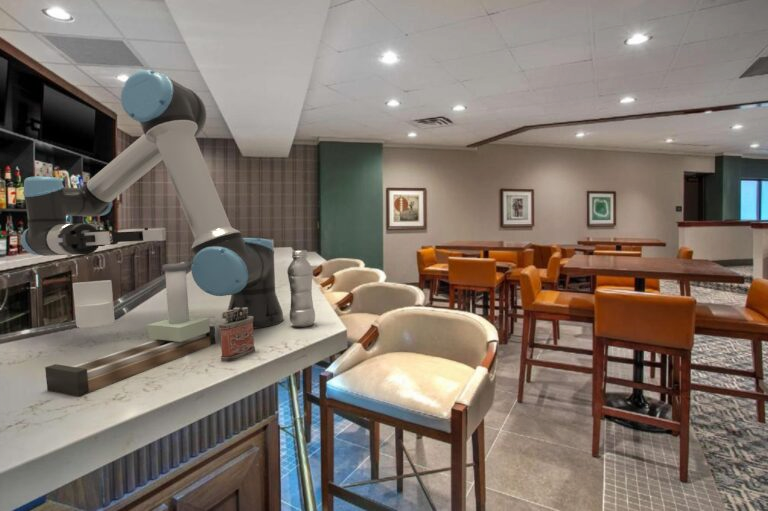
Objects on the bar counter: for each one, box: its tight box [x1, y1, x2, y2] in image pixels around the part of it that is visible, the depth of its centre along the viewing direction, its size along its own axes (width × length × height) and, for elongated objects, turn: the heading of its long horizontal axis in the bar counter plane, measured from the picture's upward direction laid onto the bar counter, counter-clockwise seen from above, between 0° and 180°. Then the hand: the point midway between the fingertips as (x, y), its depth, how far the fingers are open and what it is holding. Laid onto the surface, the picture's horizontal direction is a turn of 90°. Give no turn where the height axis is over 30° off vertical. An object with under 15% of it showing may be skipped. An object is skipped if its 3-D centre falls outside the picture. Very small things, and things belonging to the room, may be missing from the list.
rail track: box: [44, 325, 216, 397], centre depth 82 cm, size 30×8×4 cm, turn 159°
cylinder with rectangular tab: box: [72, 279, 116, 329], centre depth 117 cm, size 9×9×12 cm
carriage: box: [147, 262, 210, 342], centre depth 89 cm, size 8×9×16 cm
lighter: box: [218, 307, 256, 363], centre depth 85 cm, size 8×3×10 cm, turn 152°
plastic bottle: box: [286, 249, 316, 328], centre depth 108 cm, size 6×7×20 cm
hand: (138, 236), depth 92 cm, fingers open, 13 cm apart
